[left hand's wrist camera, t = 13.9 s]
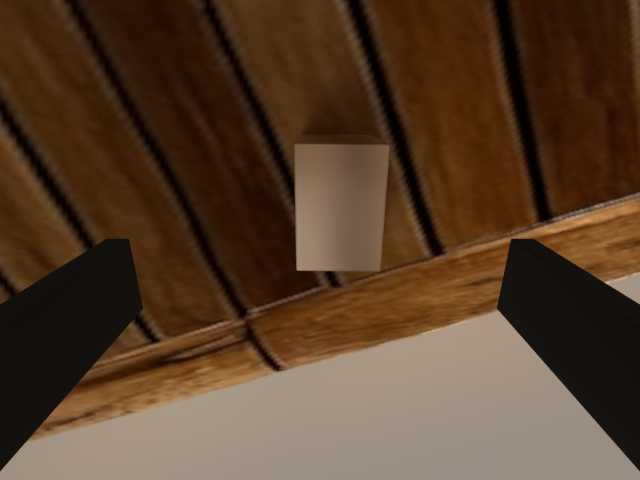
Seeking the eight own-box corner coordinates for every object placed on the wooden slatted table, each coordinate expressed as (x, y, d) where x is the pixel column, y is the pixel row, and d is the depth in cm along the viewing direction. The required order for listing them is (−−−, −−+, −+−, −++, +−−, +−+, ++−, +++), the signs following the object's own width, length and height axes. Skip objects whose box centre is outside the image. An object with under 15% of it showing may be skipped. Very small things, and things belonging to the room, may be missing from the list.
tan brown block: (302, 230, 27) (296, 271, 21) (301, 133, 25) (293, 143, 18) (365, 231, 27) (380, 271, 21) (371, 134, 25) (390, 144, 18)
